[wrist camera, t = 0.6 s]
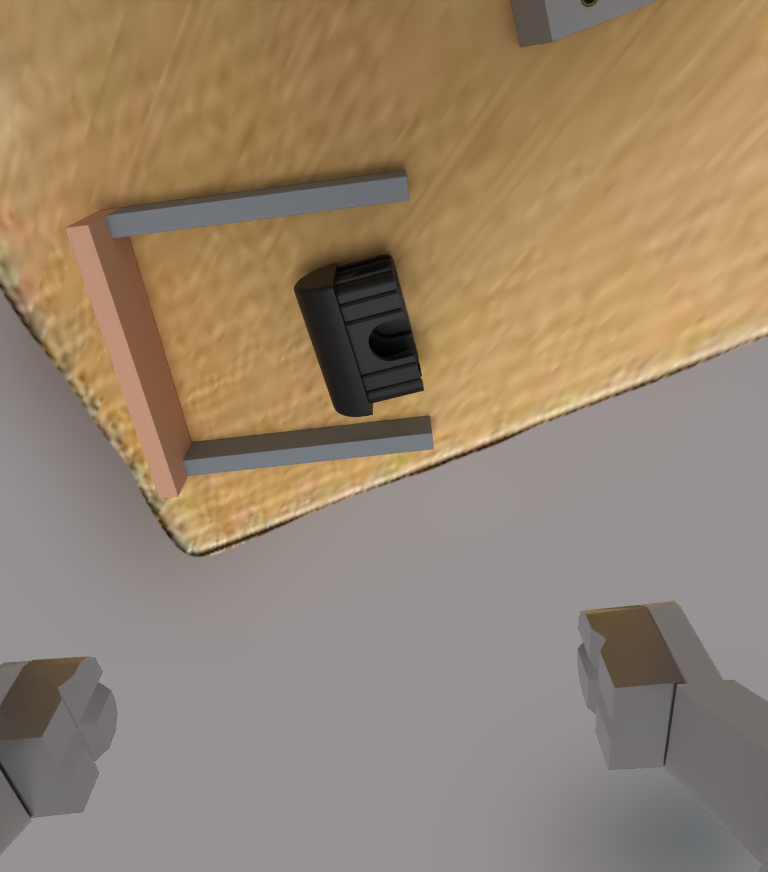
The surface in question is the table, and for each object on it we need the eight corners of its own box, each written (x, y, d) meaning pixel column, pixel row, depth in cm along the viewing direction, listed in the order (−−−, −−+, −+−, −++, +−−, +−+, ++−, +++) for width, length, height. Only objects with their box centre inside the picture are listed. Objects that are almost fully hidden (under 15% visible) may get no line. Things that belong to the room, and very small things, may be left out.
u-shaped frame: (99, 210, 47) (65, 228, 42) (405, 170, 46) (409, 183, 41) (179, 459, 57) (159, 498, 52) (430, 431, 56) (436, 468, 51)
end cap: (298, 270, 49) (287, 297, 43) (389, 245, 49) (391, 269, 43) (337, 387, 54) (332, 426, 48) (420, 366, 53) (426, 403, 47)
